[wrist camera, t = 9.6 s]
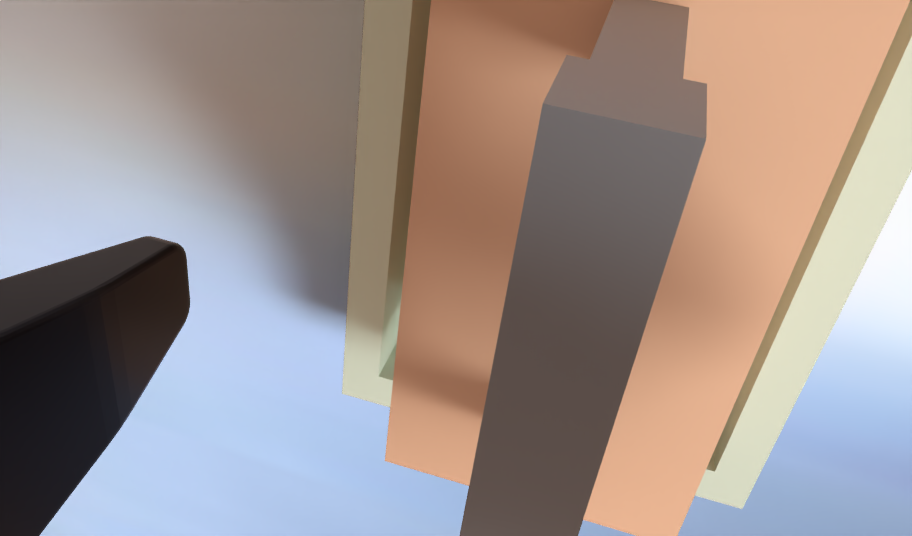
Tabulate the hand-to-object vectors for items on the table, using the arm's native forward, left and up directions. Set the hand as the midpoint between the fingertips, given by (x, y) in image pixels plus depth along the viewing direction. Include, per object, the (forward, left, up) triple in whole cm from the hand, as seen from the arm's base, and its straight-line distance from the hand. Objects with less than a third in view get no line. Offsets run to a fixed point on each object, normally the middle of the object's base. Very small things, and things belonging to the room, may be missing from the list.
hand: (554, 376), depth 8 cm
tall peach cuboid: (0, 0, -8) cm, 8 cm away
